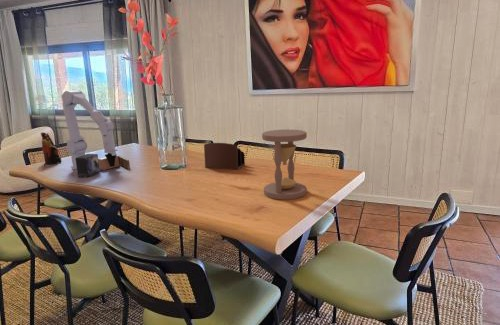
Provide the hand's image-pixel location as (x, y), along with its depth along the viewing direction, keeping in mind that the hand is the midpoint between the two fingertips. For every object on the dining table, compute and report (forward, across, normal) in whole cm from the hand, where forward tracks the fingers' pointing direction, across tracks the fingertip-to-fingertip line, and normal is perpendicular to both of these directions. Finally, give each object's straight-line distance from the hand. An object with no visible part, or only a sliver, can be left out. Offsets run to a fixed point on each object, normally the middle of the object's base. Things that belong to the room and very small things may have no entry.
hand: (112, 166), depth 193 cm
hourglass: (+3, -98, -41) cm, 106 cm away
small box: (+2, -4, +13) cm, 14 cm away
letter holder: (+2, -42, -48) cm, 64 cm away
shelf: (+2, +2, 0) cm, 3 cm away
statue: (+1, +47, +24) cm, 52 cm away
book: (+1, +4, +1) cm, 5 cm away
